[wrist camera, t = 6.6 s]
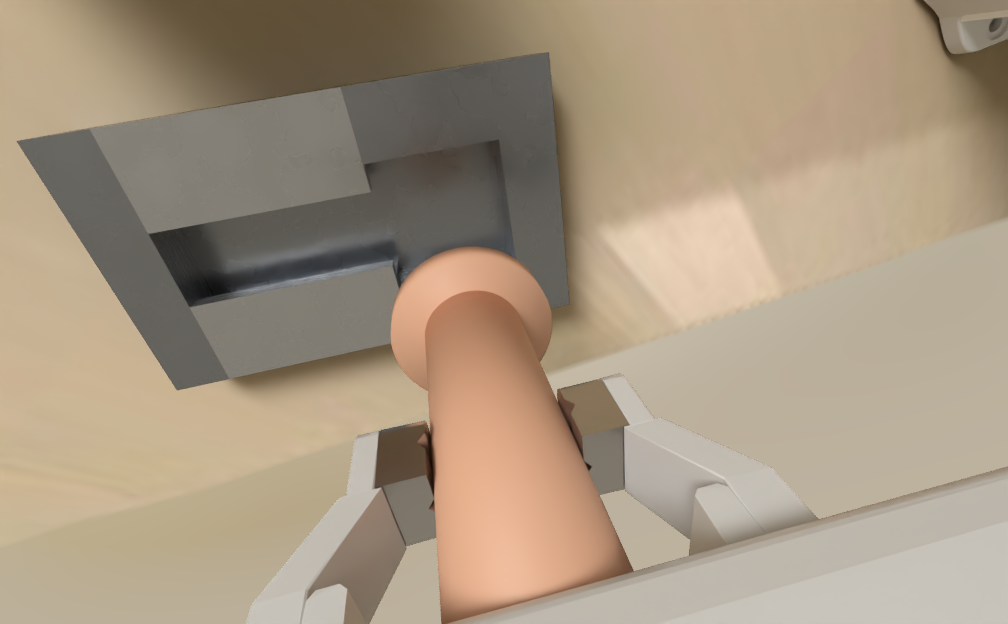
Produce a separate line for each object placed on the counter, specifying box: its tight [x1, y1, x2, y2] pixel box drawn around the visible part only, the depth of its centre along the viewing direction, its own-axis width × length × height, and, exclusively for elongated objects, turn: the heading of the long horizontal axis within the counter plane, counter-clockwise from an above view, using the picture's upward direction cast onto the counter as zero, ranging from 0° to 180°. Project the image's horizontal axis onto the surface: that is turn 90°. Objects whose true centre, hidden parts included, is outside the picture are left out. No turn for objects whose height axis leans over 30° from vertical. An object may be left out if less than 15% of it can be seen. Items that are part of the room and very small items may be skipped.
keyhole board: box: [17, 52, 570, 390], centre depth 26 cm, size 24×14×4 cm, turn 98°
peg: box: [391, 247, 634, 624], centre depth 10 cm, size 5×5×11 cm
